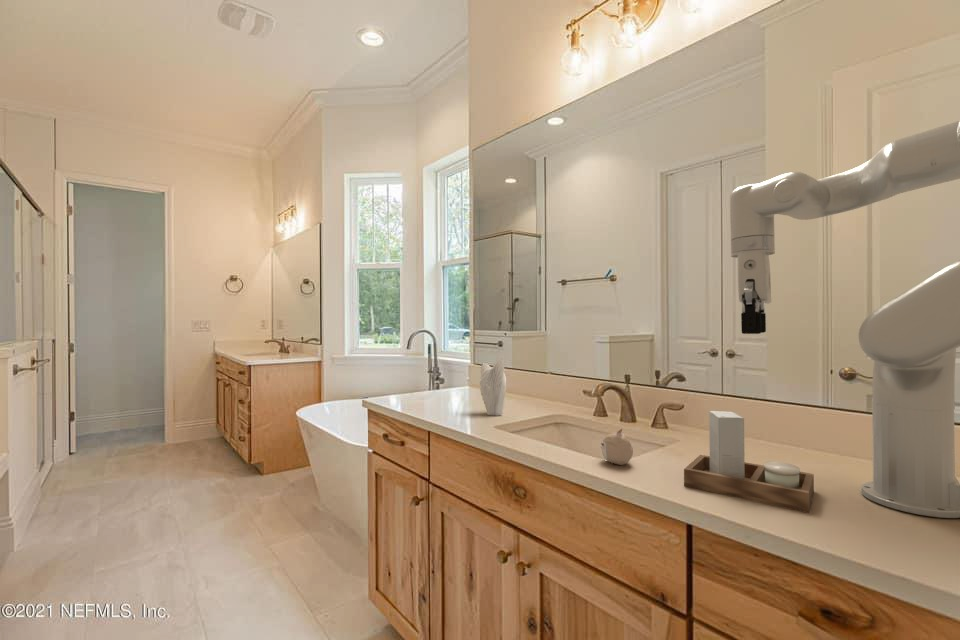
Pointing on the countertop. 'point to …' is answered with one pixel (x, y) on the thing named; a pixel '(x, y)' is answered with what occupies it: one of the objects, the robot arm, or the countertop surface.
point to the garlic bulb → (617, 448)
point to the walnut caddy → (750, 485)
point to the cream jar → (782, 474)
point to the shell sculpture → (493, 387)
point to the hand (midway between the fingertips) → (754, 333)
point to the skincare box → (726, 443)
